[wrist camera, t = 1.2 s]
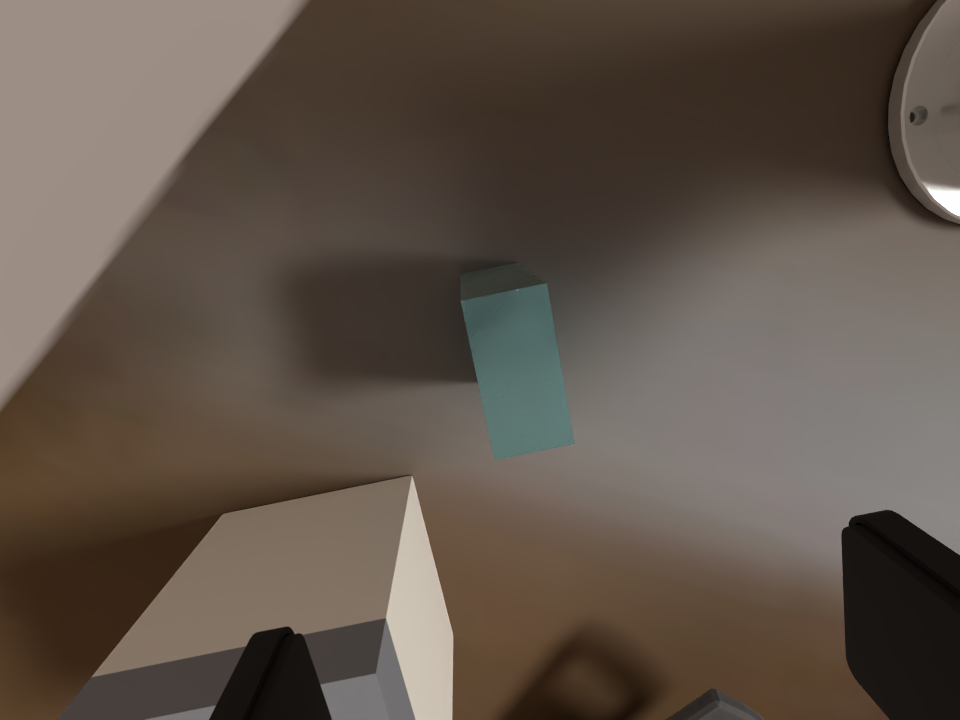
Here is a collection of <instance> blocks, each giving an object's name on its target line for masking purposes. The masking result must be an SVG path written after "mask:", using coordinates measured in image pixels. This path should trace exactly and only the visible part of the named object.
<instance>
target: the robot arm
mask: <svg viewBox="0 0 960 720" xmlns="http://www.w3.org/2000/svg"><path fill="white" fill-rule="evenodd" d="M888 133H889V139H890V146H891V152H892V155H893V158H894V161H895V164H896V166H897V169H898V172H899V175H900V176H901V178H902V179H903V181H904V183H905V184H906V186H907V187H908V189H909V191H910V192H911V194H912V195H913V196H914V197H915V198H916V199H917V200H919V201H920V202H921V203H922V204H923V205H924V206H925V207H926V208H927V209H928V210H930V211H932V212H933V213H935V214H937V215H938V216H940V217H942V218H943V219H945V220H948V221H952V222H955V223H958V224H960V0H937V1H936V2H935V4H934V5H933V6H932V7H931V9H930V10H929V11H928V13H927V14H926V15H925V16H924V18H923V19H922V20H921V21H920V23H919V24H918V26H917V28H916V29H915V31H914V33H913V35H912V37H911V38H910V40H909V42H908V44H907V45H906V47H905V49H904V51H903V54H902V57H901V59H900V62H899V65H898V67H897V70H896V73H895V75H894V80H893V84H892V89H891V94H890V99H889V111H888ZM842 563H843V591H844V618H845V645H846V659H847V663H848V666H849V668H850V670H851V672H852V674H853V676H854V677H855V679H856V680H857V681H858V683H859V684H860V685H861V686H862V687H863V689H864V690H865V691H866V692H867V693H868V695H869V696H870V697H871V698H872V699H873V700H874V702H875V703H876V704H877V705H878V706H879V707H880V709H881V710H882V711H883V712H884V713H885V714H886V716H887V717H888V718H889V719H890V720H960V555H958V554H957V553H955V552H954V551H952V550H951V549H949V548H948V547H946V546H945V545H944V544H942V543H941V542H939V541H938V540H936V539H935V538H933V537H932V536H930V535H929V534H927V533H926V532H924V531H923V530H921V529H920V528H918V527H917V526H915V525H914V524H912V523H911V522H909V521H908V520H906V519H905V518H904V517H902V516H901V515H899V514H898V513H896V512H894V511H891V510H884V511H879V512H874V513H868V514H863V515H858V516H854V517H852V518H851V520H850V521H849V527H846V528H844V529H843V531H842ZM209 720H332V718H331V715H330V712H329V709H328V706H327V703H326V700H325V697H324V694H323V691H322V688H321V685H320V682H319V679H318V676H317V673H316V670H315V667H314V664H313V662H312V659H311V656H310V653H309V650H308V647H307V644H306V641H305V638H304V636H303V635H302V634H301V633H297V634H294V632H293V630H292V629H291V628H290V627H287V626H286V627H281V628H276V629H271V630H265V631H260V632H256V633H254V634H253V635H252V637H251V638H250V640H249V642H248V644H247V645H246V647H245V649H244V651H243V653H242V655H241V657H240V659H239V661H238V663H237V665H236V667H235V669H234V671H233V673H232V675H231V677H230V679H229V681H228V683H227V685H226V687H225V689H224V691H223V693H222V695H221V697H220V699H219V701H218V703H217V705H216V707H215V708H214V710H213V712H212V714H211V716H210V718H209Z"/></svg>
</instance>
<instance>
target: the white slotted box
mask: <svg viewBox="0 0 960 720" xmlns="http://www.w3.org/2000/svg"><path fill="white" fill-rule="evenodd" d="M286 626H287V627H290V628H291V629H292V630H293V632H294V634H297V633H301V634H302V635H303V636H304V638H305V641H306V644H307V647H308V650H309V653H310V656H311V659H312V662H313V664H314V667H315V670H316V673H317V676H318V679H319V682H320V685H321V688H322V691H323V694H324V697H325V700H326V703H327V706H328V709H329V712H330V715H331V718H332V720H452V690H453V632H452V629H451V625H450V621H449V617H448V613H447V609H446V605H445V601H444V597H443V594H442V590H441V586H440V582H439V578H438V574H437V570H436V566H435V562H434V558H433V555H432V551H431V547H430V543H429V539H428V535H427V531H426V527H425V523H424V520H423V516H422V512H421V508H420V504H419V500H418V496H417V492H416V488H415V485H414V481H413V477H412V475H411V476H406V477H401V478H396V479H391V480H386V481H382V482H377V483H372V484H367V485H362V486H357V487H352V488H347V489H342V490H338V491H333V492H328V493H323V494H318V495H313V496H308V497H303V498H298V499H293V500H289V501H284V502H279V503H274V504H269V505H264V506H259V507H254V508H249V509H245V510H240V511H235V512H230V513H225V514H223V515H222V516H221V517H220V518H219V520H218V521H217V522H216V523H215V524H214V526H213V527H212V528H211V529H210V531H209V532H208V533H207V534H206V536H205V537H204V538H203V539H202V541H201V542H200V543H199V544H198V546H197V547H196V548H195V549H194V550H193V552H192V553H191V554H190V555H189V557H188V558H187V559H186V560H185V562H184V563H183V564H182V565H181V567H180V568H179V569H178V570H177V572H176V573H175V574H174V575H173V577H172V578H171V579H170V580H169V581H168V583H167V584H166V585H165V586H164V588H163V589H162V590H161V591H160V593H159V594H158V595H157V596H156V598H155V599H154V600H153V601H152V603H151V604H150V605H149V606H148V607H147V609H146V610H145V611H144V612H143V614H142V615H141V616H140V617H139V619H138V620H137V621H136V622H135V624H134V625H133V626H132V627H131V629H130V630H129V631H128V632H127V634H126V635H125V636H124V637H123V638H122V640H121V641H120V642H119V643H118V645H117V646H116V647H115V648H114V650H113V651H112V652H111V653H110V655H109V656H108V657H107V658H106V660H105V661H104V662H103V663H102V664H101V666H100V667H99V668H98V669H97V671H96V672H95V673H94V674H93V676H92V677H91V678H90V679H89V681H88V682H87V683H86V684H85V686H84V687H83V688H82V689H81V691H80V692H79V693H78V694H77V695H76V697H75V698H74V699H73V700H72V702H71V703H70V704H69V705H68V707H67V708H66V709H65V710H64V712H63V713H62V714H61V715H60V717H59V718H58V719H57V720H209V718H210V716H211V714H212V712H213V710H214V708H215V707H216V705H217V703H218V701H219V699H220V697H221V695H222V693H223V691H224V689H225V687H226V685H227V683H228V681H229V679H230V677H231V675H232V673H233V671H234V669H235V667H236V665H237V663H238V661H239V659H240V657H241V655H242V653H243V651H244V649H245V647H246V645H247V644H248V642H249V640H250V638H251V637H252V635H253V634H254V633H256V632H260V631H265V630H271V629H276V628H281V627H286Z"/></svg>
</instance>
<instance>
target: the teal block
mask: <svg viewBox="0 0 960 720" xmlns="http://www.w3.org/2000/svg"><path fill="white" fill-rule="evenodd" d="M460 301H461V306H462V311H463V315H464V320H465V325H466V329H467V334H468V339H469V343H470V348H471V353H472V357H473V362H474V367H475V372H476V376H477V381H478V386H479V390H480V395H481V400H482V404H483V409H484V414H485V418H486V423H487V428H488V432H489V437H490V442H491V446H492V451H493V456H494V460H498V459H503V458H508V457H512V456H517V455H522V454H527V453H532V452H537V451H542V450H547V449H552V448H557V447H561V446H566V445H571V444H574V438H573V432H572V426H571V421H570V415H569V409H568V403H567V397H566V391H565V386H564V380H563V374H562V368H561V362H560V357H559V351H558V345H557V339H556V333H555V327H554V322H553V316H552V310H551V304H550V298H549V293H548V287H547V283H546V282H545V281H543V280H542V279H540V278H539V277H537V276H536V275H534V274H533V273H532V272H530V271H529V270H527V269H526V268H524V267H523V266H521V265H520V264H519V263H517V262H515V263H510V264H505V265H501V266H496V267H491V268H486V269H482V270H477V271H472V272H467V273H462V274H460Z"/></svg>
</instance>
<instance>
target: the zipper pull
mask: <svg viewBox="0 0 960 720" xmlns="http://www.w3.org/2000/svg"><path fill="white" fill-rule="evenodd" d="M666 720H765V719H764V718H763V717H762V716H761V715H759V714H758V713H757V712H755V711H754V710H752V709H751V708H750V707H748V706H747V705H745V704H744V703H742V702H740V701H738V700H736V699H734V698H732V697H730V696H728V695H726V694H724V693H722V692H720V691H718V690H715V689H710V690H709V691H707V692H706V693H704V694H703V695H702V696H700V697H699V698H697V699H696V700H694V701H693V702H691V703H690V704H688V705H687V706H685V707H684V708H682V709H681V710H679V711H678V712H677V713H675V714H674V715H672V716H671V717H669V718H668V719H666Z"/></svg>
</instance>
